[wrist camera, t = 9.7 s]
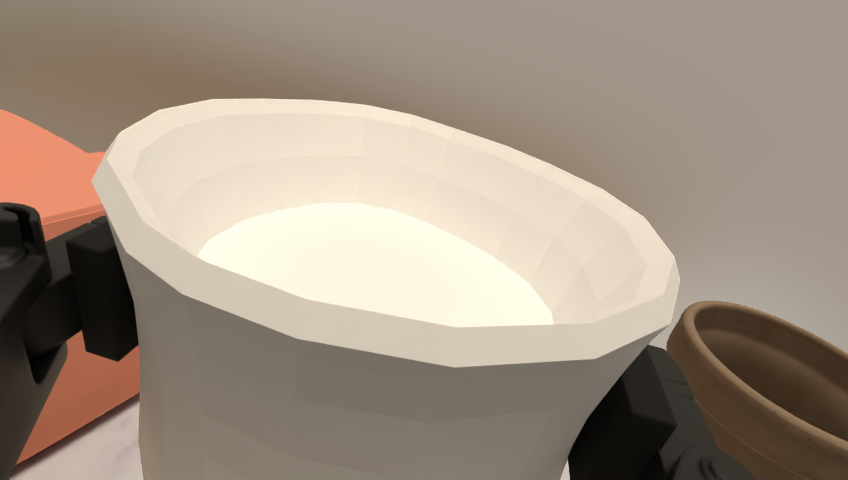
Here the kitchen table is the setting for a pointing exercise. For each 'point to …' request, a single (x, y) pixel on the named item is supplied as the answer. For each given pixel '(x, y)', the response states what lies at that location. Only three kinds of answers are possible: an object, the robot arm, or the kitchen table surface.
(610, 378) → the cup
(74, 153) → the teapot
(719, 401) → the flower pot
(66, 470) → the kitchen table surface
